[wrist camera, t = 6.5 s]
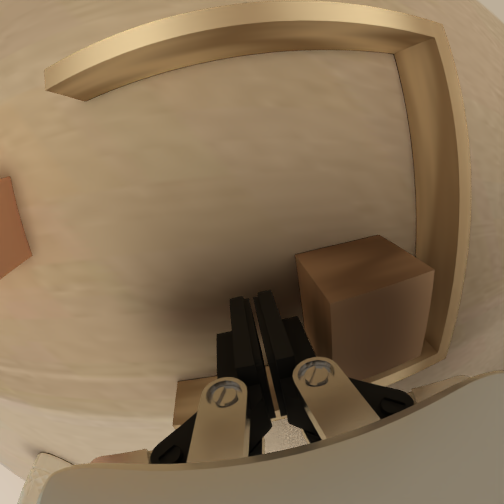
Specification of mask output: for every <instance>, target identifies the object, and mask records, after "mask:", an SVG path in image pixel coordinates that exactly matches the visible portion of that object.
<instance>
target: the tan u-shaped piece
mask: <svg viewBox="0 0 504 504" xmlns="http://www.w3.org/2000/svg"><path fill="white" fill-rule="evenodd" d="M293 50H358V51H372V52H382V53H391V54H394V56H395V60H396V63H397V67H398V71H399V76H400V80H401V84H402V89H403V94H404V99H405V104H406V109H407V115H408V121H409V128H410V135H411V142H412V151H413V161H414V172H415V188H416V258H417V259H419V260H421V261H422V262H424V263H425V264H427V265H428V266H430V267H431V268H433V269H434V270H435V272H434V281H433V289H432V297H431V304H430V310H429V316H428V321H427V327H426V332H425V337H424V341H423V346H422V350H421V354H420V356H419V357H416V358H414V359H412V360H410V361H408V362H406V363H403V364H401V365H399V366H397V367H394V368H392V369H389V370H387V371H385V372H382V373H380V374H377V375H375V376H372V377H369V378H367V379H364V380H361V381H364V382H368V383H372V384H376V385H380V386H384V387H386V386H388V385H390V384H393V383H395V382H397V381H400V380H402V379H404V378H406V377H409V376H411V375H413V374H415V373H417V372H419V371H421V370H423V369H425V368H427V367H429V366H431V365H433V364H435V363H437V362H439V361H441V360H443V359H445V358H446V355H447V352H448V349H449V345H450V342H451V338H452V334H453V331H454V327H455V323H456V319H457V314H458V310H459V305H460V300H461V295H462V290H463V284H464V278H465V272H466V264H467V257H468V247H469V237H470V222H471V163H470V149H469V138H468V130H467V122H466V115H465V109H464V103H463V97H462V92H461V87H460V83H459V78H458V74H457V70H456V66H455V62H454V59H453V55H452V52H451V49H450V45H449V42H448V39H447V36H446V33H445V30H444V27H443V25H442V24H440V23H437V22H434V21H431V20H427V19H424V18H420V17H417V16H413V15H409V14H405V13H401V12H396V11H392V10H387V9H382V8H376V7H370V6H364V5H356V4H348V3H338V2H325V1H265V2H252V3H242V4H233V5H226V6H219V7H213V8H207V9H202V10H197V11H192V12H187V13H183V14H179V15H175V16H171V17H167V18H164V19H160V20H157V21H153V22H150V23H147V24H144V25H140V26H138V27H135V28H132V29H129V30H126V31H123V32H121V33H118V34H116V35H113V36H111V37H108V38H106V39H103V40H101V41H99V42H96V43H94V44H92V45H90V46H88V47H86V48H83V49H81V50H79V51H77V52H75V53H73V54H71V55H69V56H68V57H66V58H64V59H62V60H60V61H58V62H57V63H55V64H53V65H51V66H50V67H48V68H46V69H45V70H44V76H45V90H46V91H50V92H53V93H57V94H61V95H64V96H68V97H71V98H75V99H78V100H82V101H87V100H90V99H92V98H94V97H96V96H99V95H101V94H104V93H106V92H108V91H111V90H114V89H116V88H119V87H121V86H124V85H127V84H130V83H132V82H135V81H138V80H141V79H144V78H147V77H151V76H154V75H157V74H160V73H164V72H167V71H171V70H175V69H179V68H182V67H186V66H191V65H195V64H199V63H204V62H209V61H214V60H219V59H225V58H230V57H237V56H243V55H251V54H259V53H268V52H279V51H293ZM315 355H316V354H315ZM316 357H317V356H316ZM265 369H266V374H267V378H268V383H269V387H270V392H271V396H272V401H273V405H274V410H275V414H276V418H273V419H271V421H276V420H280V419H285V418H287V415H286V416H282V417H281V415H280V410H279V406H278V402H277V398H276V394H275V390H274V385H273V381H272V377H271V373H270V369H269V366H266V367H265ZM216 379H217V376H214V377H208V378H201V379H194V380H187V381H179V382H178V384H177V392H176V400H175V409H174V418H173V427H174V428H175V429H177V428H179V427H180V426H181V425H182V424H183V423H184V422H186V421H187V420H188V419H189V418H190V417H191V416H193V415H194V414H195V413H196V412H197V411H198V407H199V402H200V398H201V394H202V392H203V389H204V388H205V387H206V386H207V385H208V384H209V383H211V382H212V381H214V380H216Z"/></svg>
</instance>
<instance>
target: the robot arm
mask: <svg viewBox="0 0 504 504" xmlns="http://www.w3.org/2000/svg"><path fill="white" fill-rule="evenodd" d="M253 299H254V304H255V308H256V313H257V317H258V321H259V326H260V330H261V334H262V339H263V343H264V347H265V352H266V356H267V360H268V364H269V369H270V373H271V377H272V381H273V385H274V390H275V394H276V398H277V402H278V406H279V410H280V415H281V417H282V416H286V415H287V418H288V422H289V423H290V424H292V425H294V426H296V427H299V428H300V429H301V432H302V434H303V436H304V438H305V440H306V442H307V445H303V446H299V447H295V448H291V449H286V450H282V451H277V452H272V453H267V454H265V439H264V436H265V434H266V433H267V432H268V431H269V430H270V429H271V427H272V423H271V419H273V418H276V414H275V410H274V405H273V401H272V396H271V392H270V387H269V383H268V378H267V374H266V369H265V365H264V360H263V355H262V351H261V347H260V343H259V339H258V334H257V330H256V326H255V322H254V318H253V314H252V309H251V305H250V301H249V298H248V299H244V298H243V296H241V297H236V298H232V299H230V312H231V324H232V331H230V332H225V333H220V334H217V379H216V380H214V381H212V382H211V383H209V384H208V385H207V386H206V387H205V388H204V389H203V392H202V394H201V398H200V402H199V407H198V411H197V412H196V413H195V414H194V415H193V416H191V417H190V418H189V419H188V420H187V421H186V422H184V423H183V424H182V425H181V426H180V427H179V428H177V429H176V430H175V431H174V432H173V433H171V434H170V435H169V436H168V437H166V438H165V439H164V440H163V441H161V442H160V443H159V444H158V445H157V446H156V447H155V448H154V449H153V450H152V451H148V450H147V449H143V450H138V451H132V452H127V453H121V454H114V455H107V456H101V457H98V458H95V459H94V460H93V461H92V462H91V463H88V464H79V465H74V466H70V467H66V468H63V469H60V470H58V471H56V472H54V473H52V474H51V475H50V476H49V477H48V478H47V480H46V481H45V483H44V485H43V487H42V489H41V492H40V494H39V497H38V500H37V503H36V504H504V370H500V371H492V372H488V373H483V374H480V375H477V376H474V377H469V376H465V375H460V376H455V377H452V378H449V379H446V380H443V381H439V382H436V383H432V384H429V385H425V386H421V387H417V388H414V389H412V391H411V392H409V393H406V392H403V391H400V390H397V389H393V388H388V387H384V386H380V385H376V384H372V383H368V382H364V381H360V380H356V379H353V378H349V377H347V376H346V375H345V373H344V372H343V371H342V370H341V368H340V367H339V366H338V365H337V364H336V363H335V362H334V361H333V360H331V359H329V358H325V357H316V355H315V353H314V351H313V349H312V347H311V344H310V342H309V340H308V338H307V335H306V333H305V331H304V329H303V327H302V324H301V322H300V320H299V318H298V316H295V317H291V318H287V319H283V320H282V319H281V317H280V314H279V311H278V308H277V305H276V303H275V300H274V297H273V294H272V292H271V290H268V291H263V292H259V293H258V296H257V297H253Z"/></svg>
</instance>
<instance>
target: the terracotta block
mask: <svg viewBox="0 0 504 504" xmlns="http://www.w3.org/2000/svg"><path fill="white" fill-rule="evenodd" d="M31 256H32V253H31V250H30V248H29V245H28V242H27V239H26V235H25V232H24V229H23V226H22V222H21V219H20V215H19V212H18V208H17V204H16V200H15V196H14V192H13V187H12V182H11V177H6V178H2V179H0V279H1V278H3V277H4V276H5V275H7V274H8V273H9V272H10V271H12V270H13V269H14V268H16V267H17V266H19V265H20V264H21V263H23V262H24V261H25V260H27V259H28V258H30V257H31Z"/></svg>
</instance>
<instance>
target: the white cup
mask: <svg viewBox="0 0 504 504" xmlns="http://www.w3.org/2000/svg"><path fill="white" fill-rule="evenodd" d="M70 466H74V465H72V464H70V463H68V462H66V461H64V460H62V459H60V458H58V457H55V456H53V455H51V454H47V453H40V454H38V456H37V458H36V460H35V463H34V465H33V469H31V471H30V473H29V475H28V477H27V480H26V482H25V484H24V487H23V489H22V492H21V495H20V498H19V501H18V504H36V503H37V500H38V497H39V494H40V492H41V489H42V487H43V485H44V483H45V481H46V480H47V478H48V477H49V476H50V475H51V474H52V473H54V472H56V471H58V470H60V469H63V468H66V467H70Z"/></svg>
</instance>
